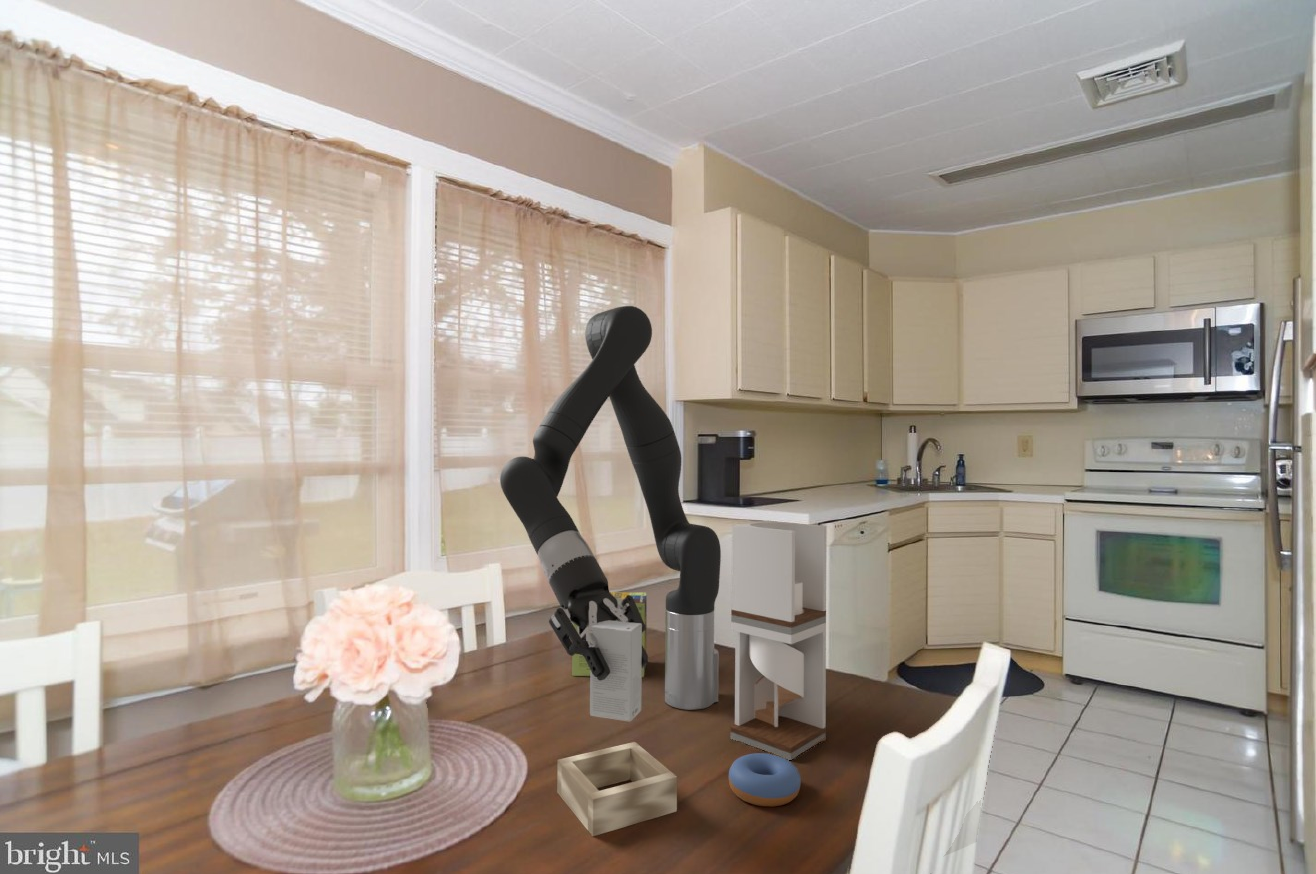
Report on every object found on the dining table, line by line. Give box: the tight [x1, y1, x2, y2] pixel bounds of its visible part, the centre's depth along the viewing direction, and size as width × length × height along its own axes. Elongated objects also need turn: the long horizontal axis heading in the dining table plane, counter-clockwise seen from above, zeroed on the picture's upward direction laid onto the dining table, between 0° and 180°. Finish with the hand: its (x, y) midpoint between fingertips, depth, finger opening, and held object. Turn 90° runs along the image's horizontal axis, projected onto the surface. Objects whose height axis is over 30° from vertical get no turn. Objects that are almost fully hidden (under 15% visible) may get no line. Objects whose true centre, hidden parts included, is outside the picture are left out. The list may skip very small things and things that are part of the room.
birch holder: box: [556, 741, 678, 837], centre depth 91 cm, size 12×12×4 cm
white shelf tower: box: [730, 520, 827, 761], centre depth 111 cm, size 11×11×35 cm
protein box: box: [571, 591, 648, 678], centre depth 146 cm, size 10×15×16 cm
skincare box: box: [589, 620, 643, 723], centre depth 91 cm, size 6×4×12 cm
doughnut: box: [728, 752, 802, 807], centre depth 94 cm, size 10×10×5 cm
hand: (624, 671), depth 90 cm, fingers closed on skincare box, 6 cm apart
